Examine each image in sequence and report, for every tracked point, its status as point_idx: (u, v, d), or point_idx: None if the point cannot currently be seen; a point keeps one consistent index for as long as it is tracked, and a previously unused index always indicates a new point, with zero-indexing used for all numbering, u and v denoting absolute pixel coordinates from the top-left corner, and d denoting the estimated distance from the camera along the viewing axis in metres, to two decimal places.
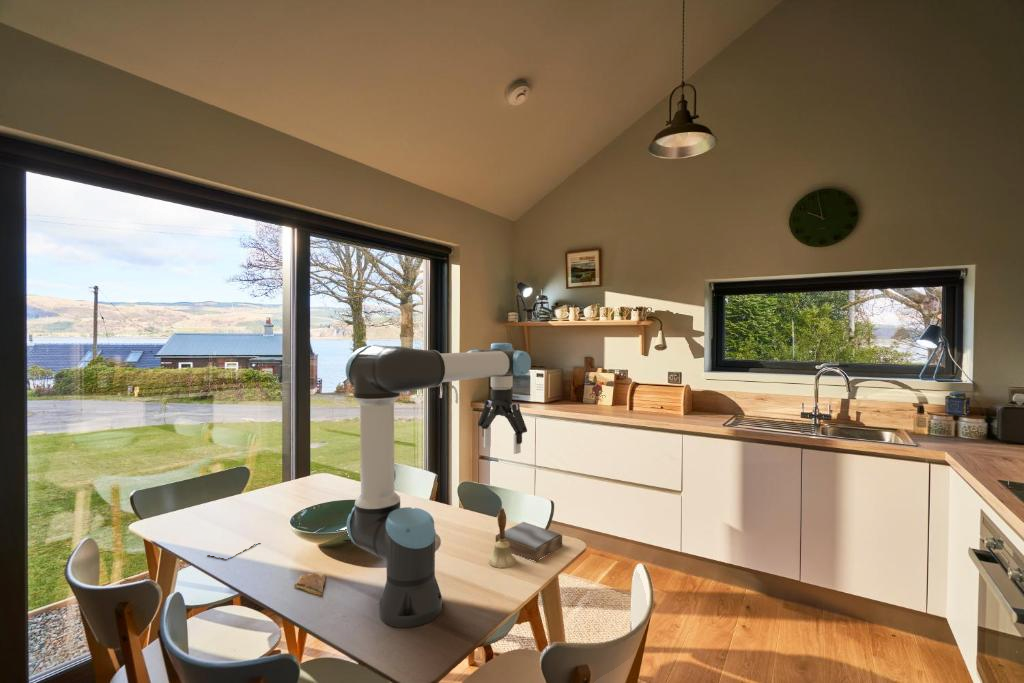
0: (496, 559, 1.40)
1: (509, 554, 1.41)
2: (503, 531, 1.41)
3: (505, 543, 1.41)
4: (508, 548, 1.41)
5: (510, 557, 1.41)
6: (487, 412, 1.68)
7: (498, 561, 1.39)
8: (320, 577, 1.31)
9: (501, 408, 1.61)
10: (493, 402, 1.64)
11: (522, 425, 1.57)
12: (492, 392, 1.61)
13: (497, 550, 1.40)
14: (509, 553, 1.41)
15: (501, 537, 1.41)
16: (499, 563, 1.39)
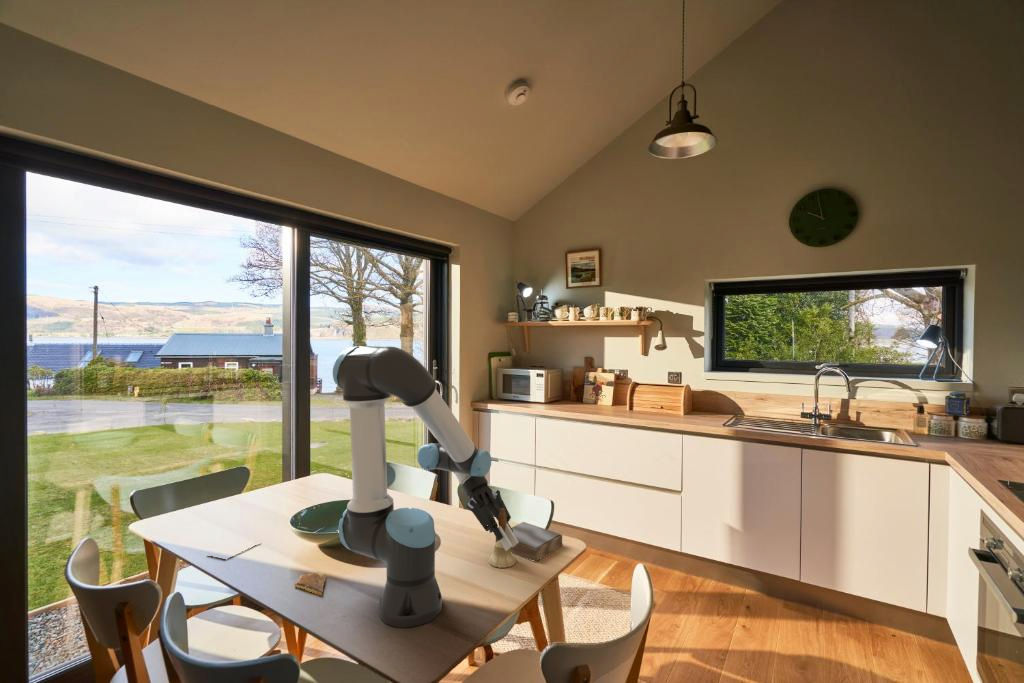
0: (496, 558, 1.40)
1: (509, 554, 1.41)
2: None
3: None
4: None
5: (510, 557, 1.41)
6: None
7: (499, 561, 1.39)
8: (320, 577, 1.31)
9: (489, 492, 1.47)
10: (475, 492, 1.45)
11: None
12: (477, 476, 1.47)
13: (497, 550, 1.40)
14: (509, 553, 1.41)
15: None
16: (499, 563, 1.39)
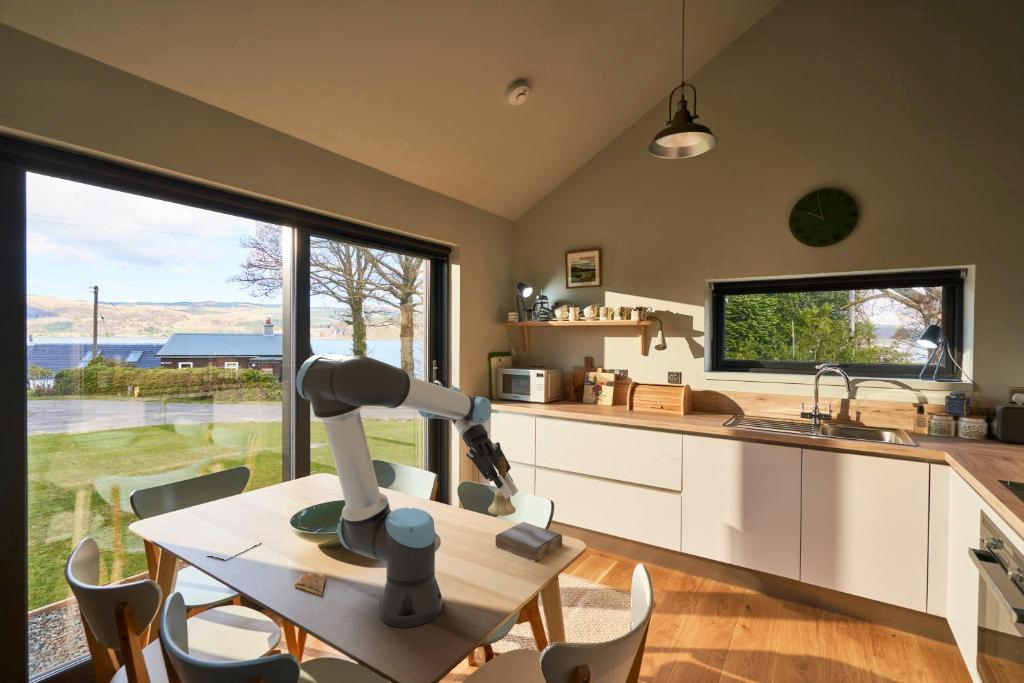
0: (496, 507, 1.40)
1: (509, 502, 1.41)
2: None
3: None
4: None
5: (510, 505, 1.40)
6: None
7: (498, 509, 1.39)
8: (320, 577, 1.31)
9: (489, 442, 1.47)
10: (475, 442, 1.45)
11: None
12: (477, 427, 1.47)
13: (497, 498, 1.40)
14: (509, 501, 1.41)
15: None
16: (499, 511, 1.39)
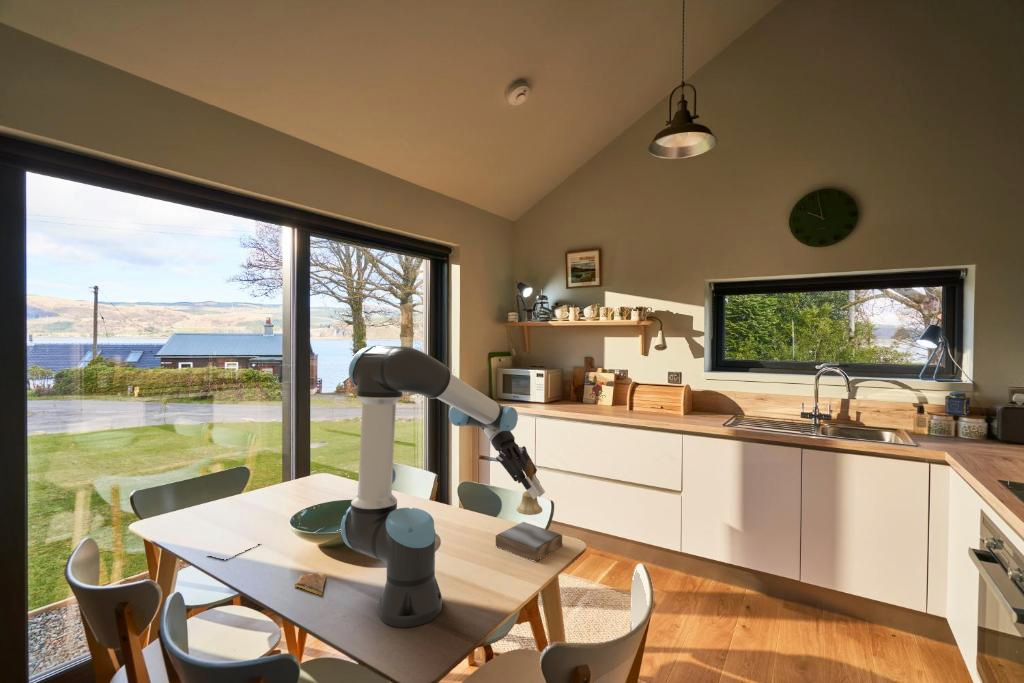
0: (524, 507, 1.50)
1: (536, 503, 1.51)
2: (531, 481, 1.52)
3: None
4: None
5: (537, 505, 1.51)
6: None
7: (527, 509, 1.49)
8: (320, 577, 1.31)
9: (516, 447, 1.57)
10: (504, 447, 1.55)
11: None
12: (505, 432, 1.57)
13: (525, 499, 1.50)
14: (536, 502, 1.51)
15: None
16: (527, 510, 1.49)
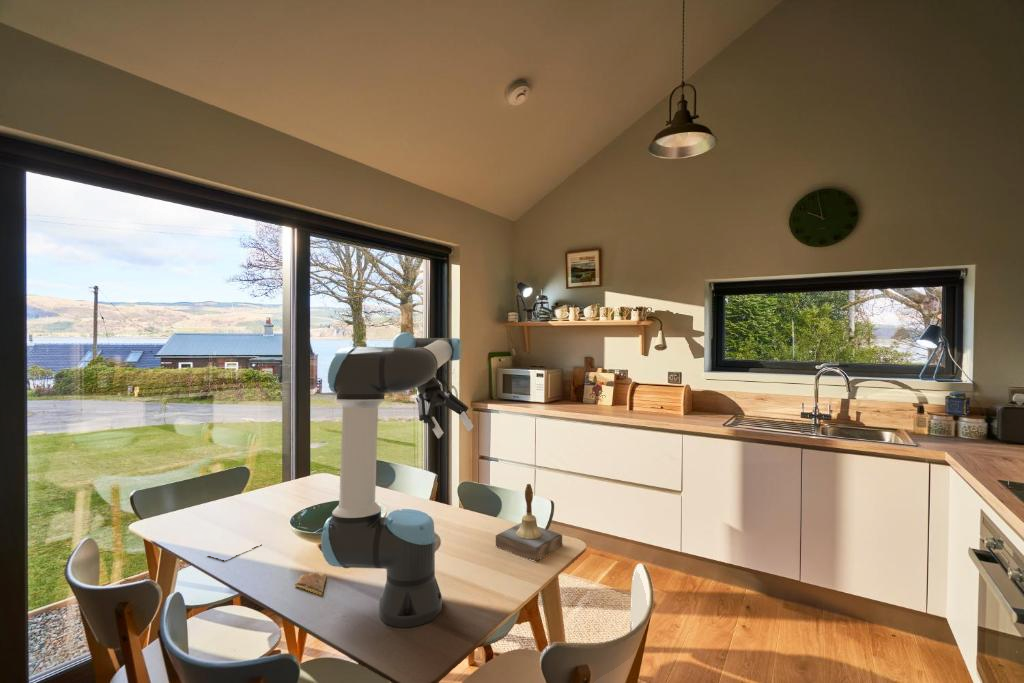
0: (524, 531, 1.50)
1: (536, 526, 1.51)
2: (530, 505, 1.51)
3: (532, 516, 1.51)
4: (535, 521, 1.51)
5: (537, 529, 1.51)
6: None
7: (526, 533, 1.49)
8: (321, 577, 1.31)
9: (441, 393, 1.62)
10: (428, 392, 1.60)
11: None
12: (430, 379, 1.62)
13: (525, 523, 1.50)
14: (536, 526, 1.51)
15: (528, 511, 1.51)
16: (527, 535, 1.49)
